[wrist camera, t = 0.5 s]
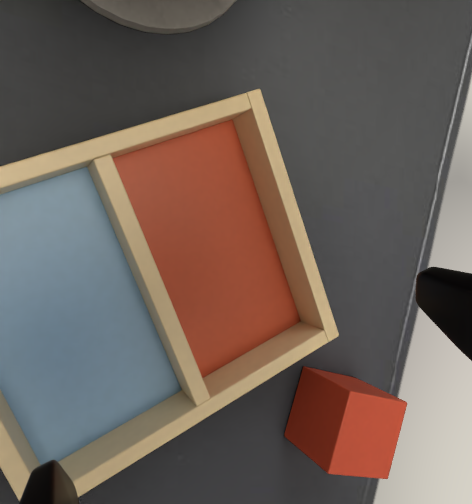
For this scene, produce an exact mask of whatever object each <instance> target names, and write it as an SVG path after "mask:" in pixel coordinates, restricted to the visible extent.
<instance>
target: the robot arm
mask: <svg viewBox="0 0 472 504" xmlns="http://www.w3.org/2000/svg"><path fill="white" fill-rule="evenodd" d="M416 302H417V304H418V305H419V307H420V308H421V309H422V310H423V311H424V312H425V313H426V315H427V316H428V317H429V318H430V319H431V320H432V321H433V322H434V323H435V324H436V325H437V326H438V327H439V328H440V329H441V330H442V332H443V333H444V334H445V335H446V336H447V337H448V338H449V339H450V340H451V341H452V342H453V343H454V344H455V345H456V346H457V347H458V348H459V349H460V350H461V351H462V352H463V353H464V354H465V355H466V356H467V357H468V358H469V359H470V360H471V361H472V274H471V273H465V272H460V271H454V270H449V269H444V268H438V267H430V268H428V269H426V270H424V271H422V272H420V273H419V274H418V275H417V279H416ZM19 504H79V500H78V495H77V491H76V488H75V486H74V483H73V481H72V480H71V478H70V477H69V476H68V474H67V473H66V472H65V471H64V469H63V468H62V467H61V465H60V464H59V463H58V462H57V461H56V460H50V461H48V462H46V463H44V464H42V465H40V466H38V467H36V468H35V469H34V470H33V471H32V472H31V474H30V477H29V479H28V482H27V484H26V487H25V489H24V492H23V494H22V497H21V499H20V502H19Z"/></svg>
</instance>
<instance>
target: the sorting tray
mask: <svg viewBox="0 0 472 504" xmlns="http://www.w3.org/2000/svg"><path fill="white" fill-rule="evenodd" d="M338 336H339V334H338V331H337V328H336V324H335V321H334V318H333V315H332V312H331V309H330V306H329V303H328V299H327V296H326V293H325V290H324V287H323V284H322V281H321V278H320V274H319V271H318V268H317V265H316V262H315V259H314V256H313V253H312V250H311V246H310V243H309V240H308V237H307V234H306V231H305V228H304V225H303V221H302V218H301V215H300V212H299V209H298V206H297V203H296V200H295V196H294V193H293V190H292V187H291V184H290V181H289V178H288V175H287V171H286V168H285V165H284V162H283V159H282V156H281V153H280V150H279V146H278V143H277V140H276V137H275V134H274V131H273V128H272V125H271V121H270V118H269V115H268V112H267V109H266V106H265V103H264V100H263V96H262V93H261V90H260V89H256V90H253V91H250V92H247V93H243V94H240V95H237V96H233V97H230V98H227V99H223V100H220V101H217V102H213V103H210V104H207V105H203V106H200V107H197V108H193V109H190V110H187V111H183V112H180V113H177V114H173V115H170V116H167V117H163V118H160V119H157V120H153V121H150V122H147V123H143V124H140V125H137V126H133V127H130V128H127V129H123V130H120V131H117V132H113V133H110V134H107V135H103V136H100V137H97V138H93V139H90V140H87V141H83V142H80V143H77V144H73V145H70V146H67V147H63V148H60V149H57V150H53V151H50V152H47V153H44V154H40V155H37V156H34V157H30V158H27V159H24V160H20V161H17V162H14V163H10V164H7V165H4V166H0V468H1V469H2V471H3V473H4V475H5V477H6V478H7V480H8V482H9V484H10V486H11V487H12V489H13V491H14V493H15V494H16V496H17V498H18V500H19V502H20V499H21V497H22V494H23V492H24V489H25V487H26V484H27V482H28V479H29V477H30V474H31V472H32V471H33V470H34V469H35V468H36V467H38V466H40V465H42V464H44V463H46V462H48V461H50V460H56V461H57V462H58V463H59V464H60V465H61V467H62V468H63V469H64V471H65V472H66V473H67V474H68V476H69V477H70V478H71V480H72V481H73V483H74V486H75V488H76V491H77V495H78V497H79V496H81V495H83V494H84V493H86V492H87V491H89V490H91V489H92V488H94V487H95V486H97V485H99V484H100V483H102V482H104V481H105V480H107V479H108V478H110V477H112V476H113V475H115V474H116V473H118V472H120V471H121V470H123V469H124V468H126V467H128V466H129V465H131V464H133V463H134V462H136V461H137V460H139V459H141V458H142V457H144V456H145V455H147V454H149V453H150V452H152V451H153V450H155V449H157V448H158V447H160V446H162V445H163V444H165V443H166V442H168V441H170V440H171V439H173V438H174V437H176V436H178V435H179V434H181V433H182V432H184V431H186V430H187V429H189V428H191V427H192V426H194V425H195V424H197V423H199V422H200V421H202V420H203V419H205V418H207V417H208V416H210V415H211V414H213V413H215V412H216V411H218V410H220V409H221V408H223V407H224V406H226V405H228V404H229V403H231V402H232V401H234V400H236V399H237V398H239V397H240V396H242V395H244V394H245V393H247V392H249V391H250V390H252V389H253V388H255V387H257V386H258V385H260V384H261V383H263V382H265V381H266V380H268V379H269V378H271V377H273V376H274V375H276V374H278V373H279V372H281V371H282V370H284V369H286V368H287V367H289V366H290V365H292V364H294V363H295V362H297V361H298V360H300V359H302V358H303V357H305V356H307V355H308V354H310V353H311V352H313V351H315V350H316V349H318V348H319V347H321V346H323V345H324V344H326V343H327V342H330V341H331V340H333V339H334V338H336V337H338Z"/></svg>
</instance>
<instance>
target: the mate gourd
mask: <svg viewBox="0 0 472 504" xmlns="http://www.w3.org/2000/svg"><path fill="white" fill-rule="evenodd" d="M80 1H82V2H83V3H84V4H86V5H87V6H88V7H90V8H91V9H92V10H94V11H95V12H97V13H99V14H101V15H103V16H105V17H107V18H108V19H110V20H112V21H114V22H116V23H118V24H120V25H123V26H127V27H130V28H133V29H136V30H140V31H143V32H149V33H159V34H176V33H185V32H190V31H193V30H196V29H198V28H201V27H204V26H207V25H208V24H210V23H211V22H213V21H214V20H216V19H217V18H219V17H220V16H222V15H223V14H224V13H225V12H226V11H227V10H228V9H229V8H230V6H231V5H232V4H233V3H234V2H235V1H236V0H80Z"/></svg>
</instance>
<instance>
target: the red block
mask: <svg viewBox="0 0 472 504" xmlns="http://www.w3.org/2000/svg"><path fill="white" fill-rule="evenodd" d="M406 406H407V402H405V401H403V400H401V399H399V398H397V397H395V396H393V395H391V394H388V393H386V392H384V391H382V390H380V389H378V388H376V387H374V386H372V385H370V384H367V383H365V382H363V381H361V380H359V379H357V378H354V377H350V376H345V375H341V374H336V373H332V372H327V371H323V370H318V369H314V368H309V367H305V366H304V367H303V369H302V373H301V377H300V380H299V384H298V387H297V391H296V394H295V398H294V402H293V405H292V409H291V412H290V416H289V419H288V423H287V427H286V430H285V434H284V436H285V437H286V438H287V439H288V440H289V441H290V442H292V443H293V444H294V445H295V446H296V447H298V448H299V449H300V450H301V451H302V452H303V453H305V454H306V455H307V456H308V457H309V458H310V459H312V460H313V461H314V462H315V463H316V464H317V465H319V466H320V467H321V468H322V469H323V470H324V471H326V472H327V473H328V474H336V475H347V476H359V477H370V478H382V479H388V476H389V472H390V468H391V464H392V460H393V456H394V453H395V449H396V445H397V441H398V437H399V433H400V430H401V426H402V422H403V418H404V414H405V410H406Z"/></svg>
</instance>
